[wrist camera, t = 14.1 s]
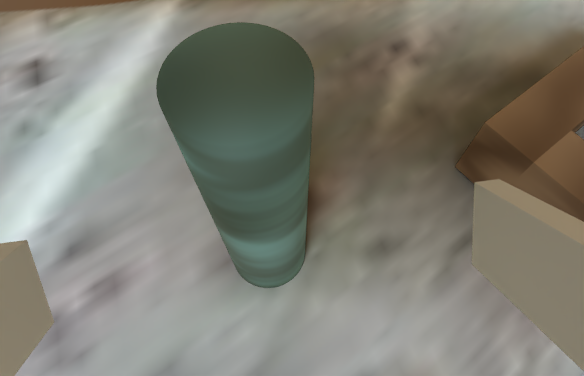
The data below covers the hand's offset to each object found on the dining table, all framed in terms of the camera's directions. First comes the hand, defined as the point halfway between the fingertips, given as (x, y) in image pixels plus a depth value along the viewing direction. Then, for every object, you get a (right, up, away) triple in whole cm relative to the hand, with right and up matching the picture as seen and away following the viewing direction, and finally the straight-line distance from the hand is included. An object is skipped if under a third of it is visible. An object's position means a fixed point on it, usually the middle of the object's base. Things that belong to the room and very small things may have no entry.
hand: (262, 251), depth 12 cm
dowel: (0, -2, +11) cm, 11 cm away
